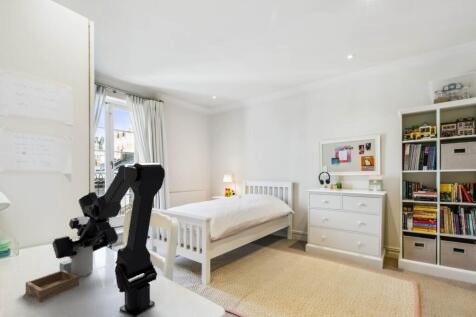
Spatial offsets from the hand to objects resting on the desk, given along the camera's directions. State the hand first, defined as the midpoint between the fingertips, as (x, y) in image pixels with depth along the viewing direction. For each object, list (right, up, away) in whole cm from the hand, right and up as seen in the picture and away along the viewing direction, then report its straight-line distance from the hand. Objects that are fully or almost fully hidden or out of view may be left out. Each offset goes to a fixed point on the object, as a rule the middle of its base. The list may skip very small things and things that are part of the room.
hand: (80, 254), depth 84 cm
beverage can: (+1, -7, -1) cm, 7 cm away
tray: (-1, -6, -11) cm, 13 cm away
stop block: (-3, -7, +2) cm, 8 cm away
